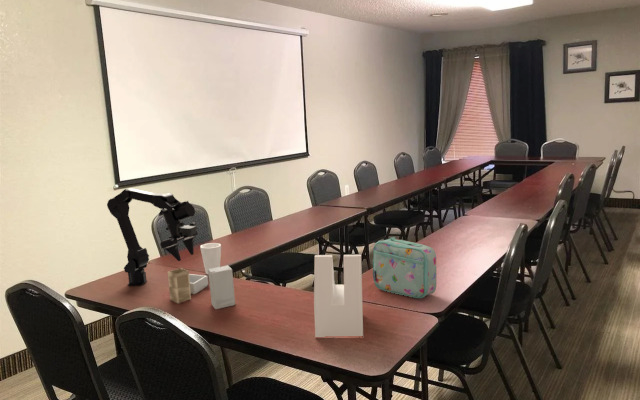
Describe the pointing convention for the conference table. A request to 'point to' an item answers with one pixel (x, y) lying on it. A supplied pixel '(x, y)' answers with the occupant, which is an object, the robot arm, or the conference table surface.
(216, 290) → the skincare box
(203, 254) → the foam cup
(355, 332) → the white notched block
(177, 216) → the robot arm
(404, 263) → the lunch box
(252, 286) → the conference table surface
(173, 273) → the birch caddy
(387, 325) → the conference table surface
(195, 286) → the white tray
